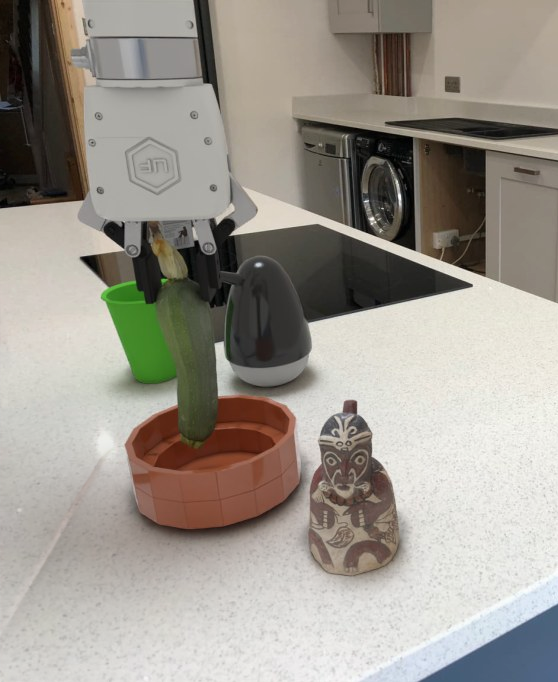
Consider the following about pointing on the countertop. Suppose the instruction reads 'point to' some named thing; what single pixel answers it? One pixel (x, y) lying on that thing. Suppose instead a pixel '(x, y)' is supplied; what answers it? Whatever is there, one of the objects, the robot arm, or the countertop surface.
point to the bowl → (215, 464)
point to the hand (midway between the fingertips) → (181, 295)
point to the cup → (140, 333)
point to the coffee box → (172, 232)
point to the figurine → (351, 499)
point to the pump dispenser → (265, 324)
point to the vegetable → (188, 345)
